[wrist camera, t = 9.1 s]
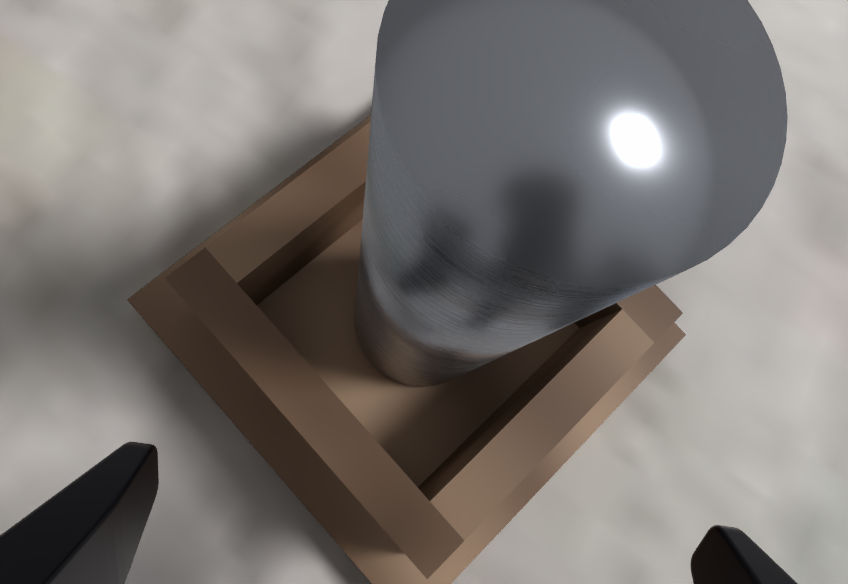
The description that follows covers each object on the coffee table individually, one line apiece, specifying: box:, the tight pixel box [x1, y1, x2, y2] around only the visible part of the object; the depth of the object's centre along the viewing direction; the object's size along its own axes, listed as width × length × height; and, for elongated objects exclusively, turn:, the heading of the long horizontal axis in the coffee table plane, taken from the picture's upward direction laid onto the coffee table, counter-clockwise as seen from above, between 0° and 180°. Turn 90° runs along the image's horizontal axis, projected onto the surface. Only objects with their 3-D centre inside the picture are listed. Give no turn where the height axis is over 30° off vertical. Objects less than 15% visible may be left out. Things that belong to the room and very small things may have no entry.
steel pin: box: [355, 0, 787, 387], centre depth 12 cm, size 4×4×13 cm
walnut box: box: [127, 115, 686, 584], centre depth 17 cm, size 12×12×4 cm
